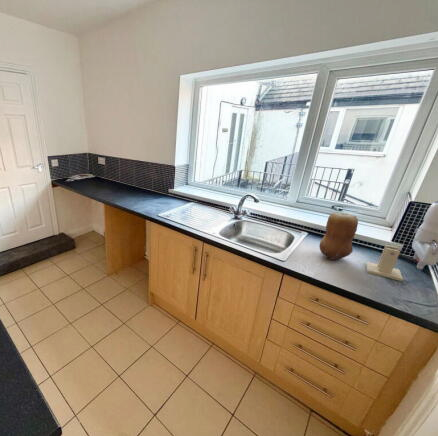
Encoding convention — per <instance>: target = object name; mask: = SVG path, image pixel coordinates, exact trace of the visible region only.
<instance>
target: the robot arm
mask: <svg viewBox="0 0 438 436" xmlns="http://www.w3.org/2000/svg"><path fill="white" fill-rule="evenodd" d="M414 233H415V235H414V238H413V239H412V243H411V248H412V249H413V251H414V255H413V259H415V260H416V259H420V262H419V263H416V268H417V269H418V270H423V269H424V268H425V266H431V267H433V266H435V265H436V264H437V262H438V200H435V201H434V202H433V203H431V205H429V207H428V208H427V211H426V212H425V215H424V216H423V222H422V223H421V225H420V226H419V227H418V228H416V229H415V231H414Z"/></svg>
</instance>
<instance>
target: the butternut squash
mask: <svg viewBox="0 0 438 436" xmlns="http://www.w3.org/2000/svg"><path fill="white" fill-rule="evenodd" d="M326 221H327V222H326V225H325V235H324V236H323V237H322V238H321V240H320V242H319V250H320V253H321V254H322V256H325V257H326V258H327V259H329V260H333V261H338V260H341V259H344V258H346V257H348V256H350V255H351V254H352V253H353V250H354V249H353V240H354V238H355V235H356V233H357V230H358V224H359V220H358V217H357V215H355V214H352V213H348V212H332V213H331V214H330V215H329V216H328V218H327V220H326Z"/></svg>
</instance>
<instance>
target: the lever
mask: <svg viewBox="0 0 438 436" xmlns="http://www.w3.org/2000/svg"><path fill="white" fill-rule="evenodd" d="M389 248H390V247H389ZM390 249H393V248H390ZM394 250H395V249H394ZM398 257H401V258H402V259H406V260H408V261H410V262H413V263H415V264H417V263H419V262H420V259H416V260H415V259H414V257H410V256H408V255H405V254H403V253H400V254H399V256H398Z"/></svg>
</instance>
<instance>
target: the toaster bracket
mask: <svg viewBox="0 0 438 436" xmlns="http://www.w3.org/2000/svg"><path fill="white" fill-rule="evenodd" d="M389 247H390V248H393V249H390V248H389ZM394 249H395V250H394ZM399 254H401V250H399V247H398V246H393V245H389V244H385V245H384V248H383V250H382V253H381V255H380V257H379V261H378V262H377V263H373V262H369V261H366V262H365V266H366V267H365V268H366V272H367V273H369V274H372V275H377V276H379V277H380V276H381V277H384V278H388V279H391V280H395V281H399V282H403V281H404V277H403V275H402V272H401V271H400V269H398V268H395V265H396V263H397V260H398V258H399V257H400V256H399Z"/></svg>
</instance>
